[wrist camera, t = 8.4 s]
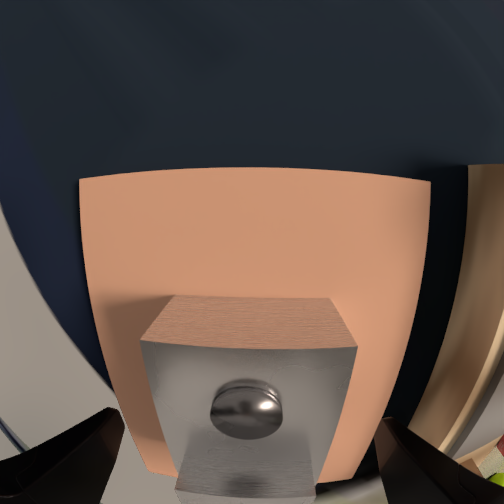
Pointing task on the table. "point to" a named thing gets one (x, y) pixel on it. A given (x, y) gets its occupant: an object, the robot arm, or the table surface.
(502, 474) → the molecule model
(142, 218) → the rubber mat
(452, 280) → the table surface
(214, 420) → the lever cap
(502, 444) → the ink cartridge box
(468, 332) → the hand plane
